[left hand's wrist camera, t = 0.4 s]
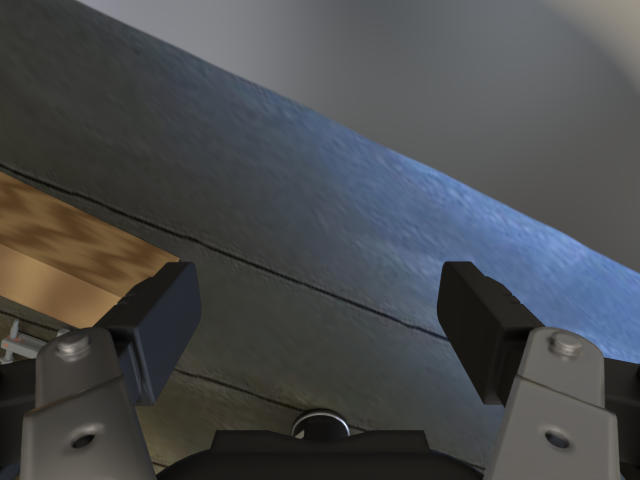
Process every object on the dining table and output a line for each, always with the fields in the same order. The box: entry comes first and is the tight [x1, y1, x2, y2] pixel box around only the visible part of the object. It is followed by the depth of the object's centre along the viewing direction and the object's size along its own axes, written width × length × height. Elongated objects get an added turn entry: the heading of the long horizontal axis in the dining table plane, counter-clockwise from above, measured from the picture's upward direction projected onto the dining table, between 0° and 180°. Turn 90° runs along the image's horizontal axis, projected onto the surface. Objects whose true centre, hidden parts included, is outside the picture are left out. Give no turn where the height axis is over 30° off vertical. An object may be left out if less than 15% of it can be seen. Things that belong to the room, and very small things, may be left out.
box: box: [0, 171, 180, 329], centre depth 39 cm, size 24×6×12 cm, turn 60°
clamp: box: [0, 319, 70, 365], centre depth 50 cm, size 15×2×10 cm
